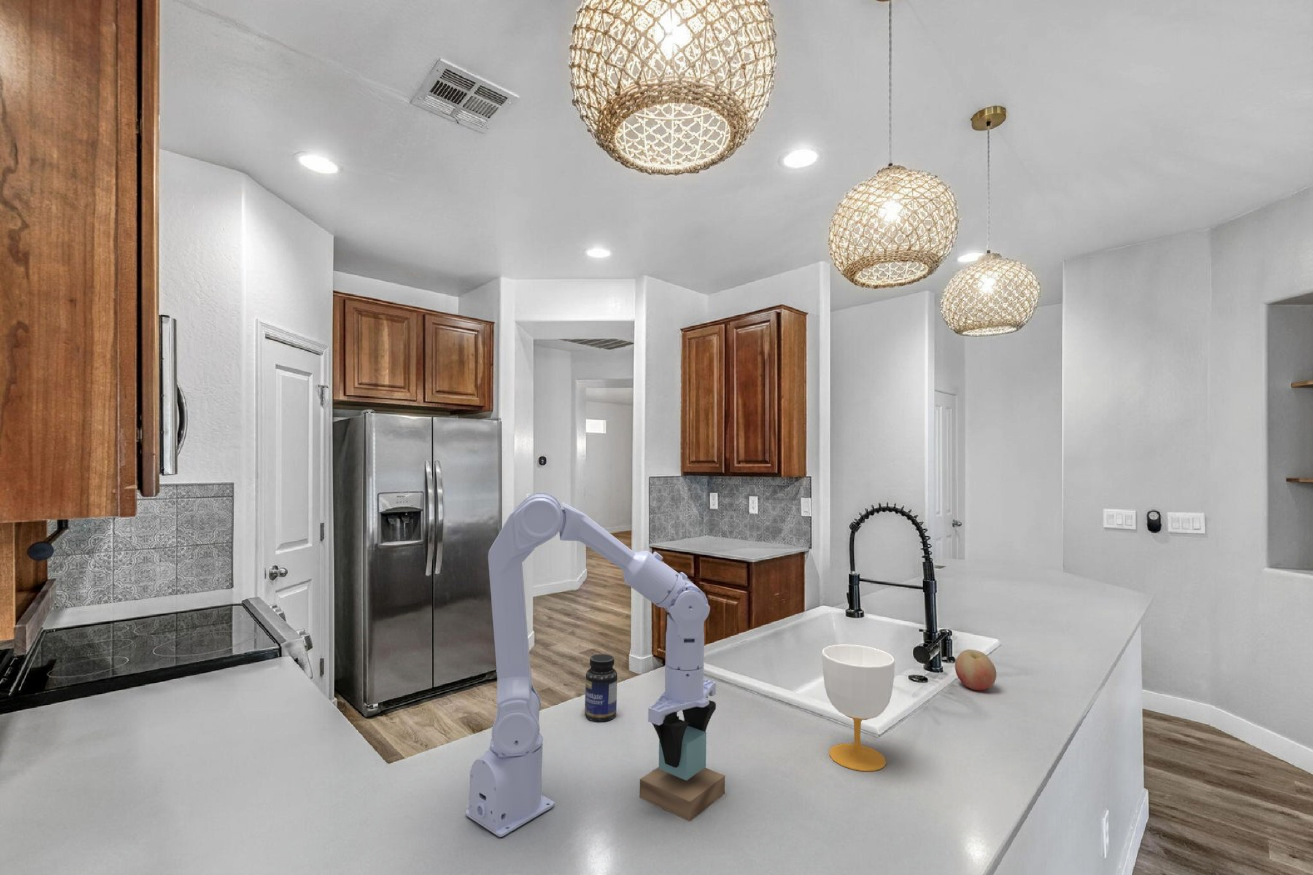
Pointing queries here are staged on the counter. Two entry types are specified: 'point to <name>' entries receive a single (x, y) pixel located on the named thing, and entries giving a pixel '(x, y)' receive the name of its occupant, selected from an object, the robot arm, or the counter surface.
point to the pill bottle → (601, 688)
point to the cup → (858, 696)
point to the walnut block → (682, 791)
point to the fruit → (975, 670)
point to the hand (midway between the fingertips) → (683, 757)
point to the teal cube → (688, 755)
